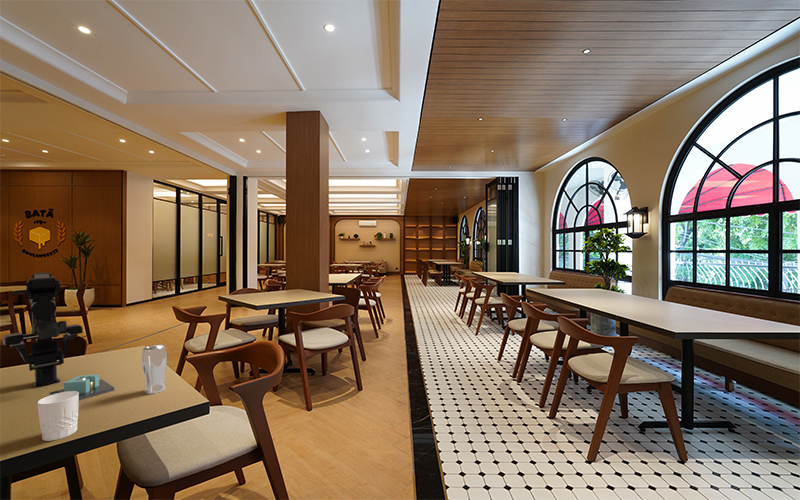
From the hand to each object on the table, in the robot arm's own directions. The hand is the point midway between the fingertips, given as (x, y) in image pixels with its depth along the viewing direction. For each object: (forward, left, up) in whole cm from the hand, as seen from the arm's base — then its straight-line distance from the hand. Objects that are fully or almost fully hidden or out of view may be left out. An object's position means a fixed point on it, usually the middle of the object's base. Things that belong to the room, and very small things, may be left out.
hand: (45, 359), depth 120 cm
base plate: (+10, +7, -12) cm, 17 cm away
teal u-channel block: (+10, +7, -11) cm, 16 cm away
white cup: (+41, -4, -12) cm, 43 cm away
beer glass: (+30, +22, -12) cm, 39 cm away
